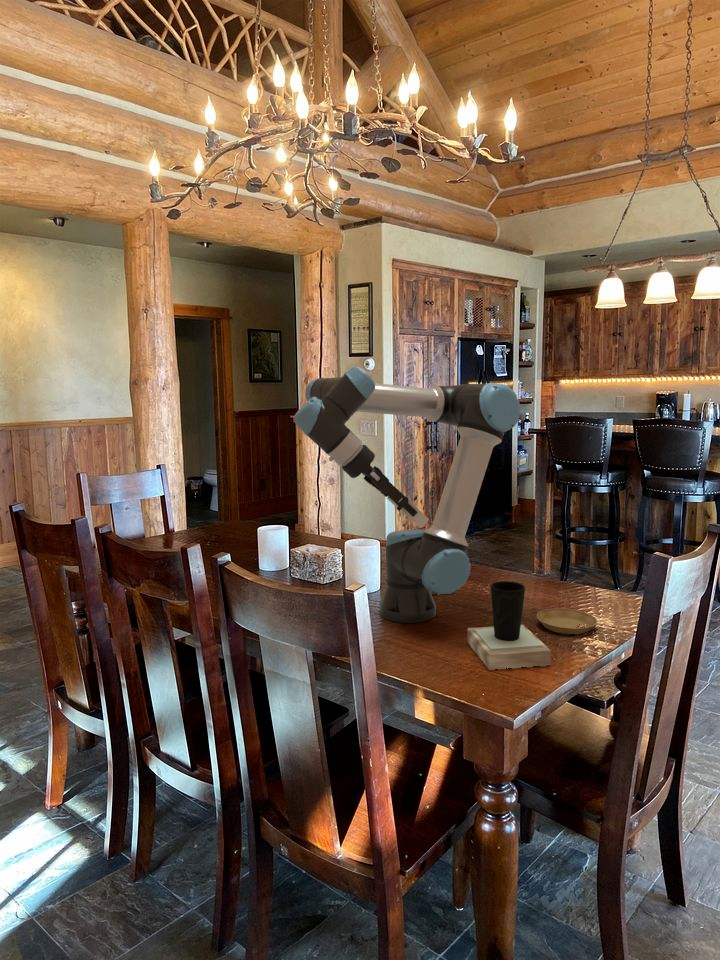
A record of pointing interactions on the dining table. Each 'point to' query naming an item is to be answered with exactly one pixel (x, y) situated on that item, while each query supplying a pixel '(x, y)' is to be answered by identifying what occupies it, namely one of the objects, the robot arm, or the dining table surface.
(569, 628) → the plant saucer
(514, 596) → the cup
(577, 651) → the dining table surface
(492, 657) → the stand
